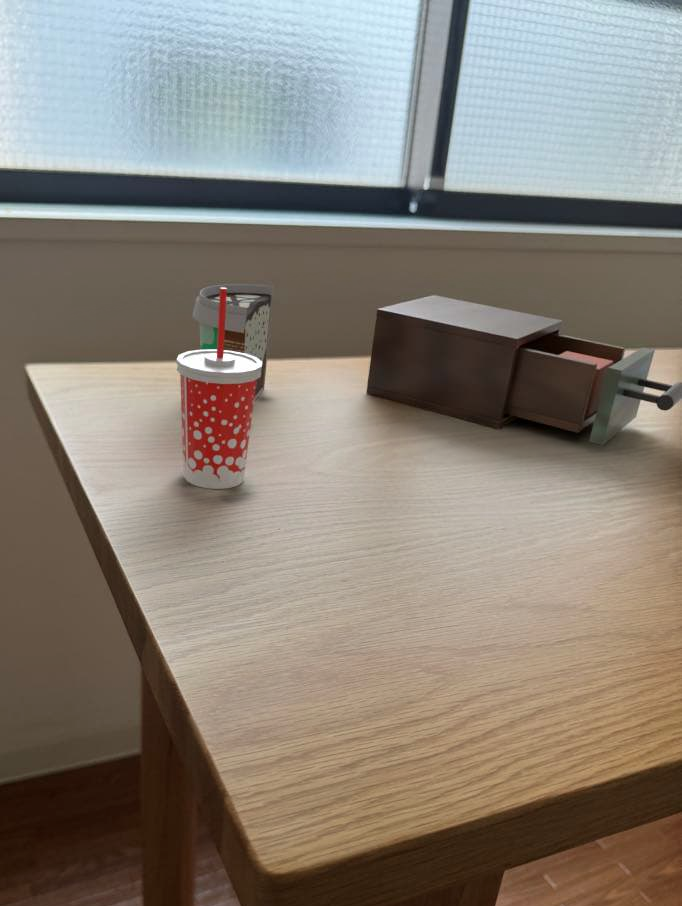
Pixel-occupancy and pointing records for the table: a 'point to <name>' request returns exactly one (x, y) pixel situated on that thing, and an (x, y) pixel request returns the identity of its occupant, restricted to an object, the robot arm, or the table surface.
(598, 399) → the block
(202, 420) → the beverage cup
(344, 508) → the table surface
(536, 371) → the drawer
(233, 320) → the food container
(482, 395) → the cabinet
